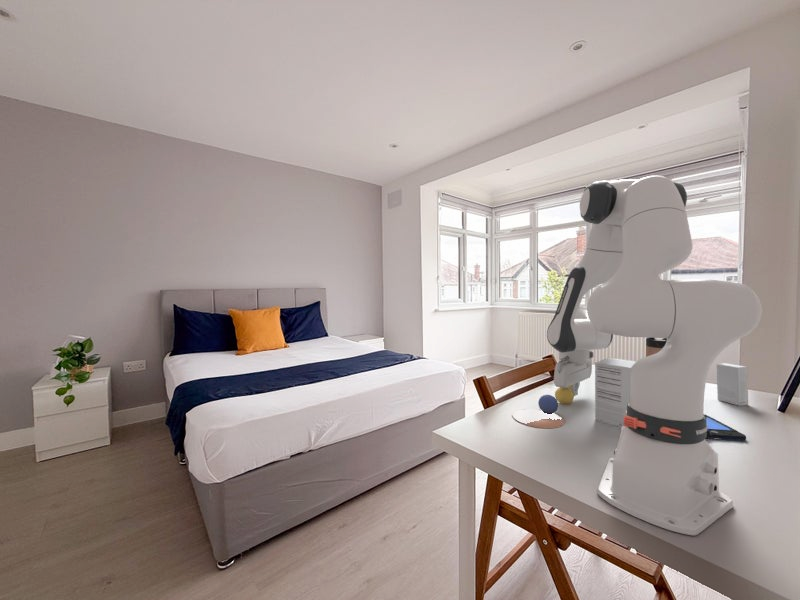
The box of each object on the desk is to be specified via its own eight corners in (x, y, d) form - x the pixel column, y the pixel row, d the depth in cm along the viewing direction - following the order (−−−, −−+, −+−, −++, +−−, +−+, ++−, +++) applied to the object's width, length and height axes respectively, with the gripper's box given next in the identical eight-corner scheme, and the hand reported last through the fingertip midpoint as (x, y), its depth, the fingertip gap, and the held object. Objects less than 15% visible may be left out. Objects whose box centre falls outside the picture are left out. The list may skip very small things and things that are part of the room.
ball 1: (563, 405, 100) (556, 420, 97) (545, 401, 104) (538, 414, 101) (558, 393, 98) (551, 407, 95) (540, 389, 102) (533, 402, 99)
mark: (549, 433, 86) (549, 432, 86) (502, 417, 97) (502, 416, 97) (573, 419, 95) (573, 418, 95) (528, 406, 106) (528, 405, 106)
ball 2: (578, 393, 107) (574, 409, 105) (562, 391, 112) (557, 405, 110) (571, 384, 105) (566, 400, 103) (554, 382, 109) (549, 397, 107)
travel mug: (661, 403, 106) (661, 341, 106) (639, 395, 114) (639, 338, 113) (680, 401, 108) (681, 340, 107) (657, 393, 115) (658, 337, 115)
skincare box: (749, 405, 104) (749, 366, 103) (738, 406, 103) (738, 367, 102) (725, 398, 110) (726, 362, 109) (715, 399, 109) (716, 363, 108)
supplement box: (608, 412, 100) (608, 356, 99) (645, 422, 92) (645, 362, 92) (594, 420, 94) (594, 361, 93) (631, 431, 87) (631, 367, 86)
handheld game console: (749, 443, 80) (750, 405, 79) (685, 439, 82) (686, 402, 82) (704, 418, 95) (704, 386, 95) (651, 415, 98) (651, 384, 97)
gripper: (568, 360, 101) (568, 405, 101) (595, 351, 114) (595, 391, 114) (548, 357, 106) (548, 400, 106) (576, 349, 119) (576, 387, 119)
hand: (573, 395), depth 110 cm, fingers closed
